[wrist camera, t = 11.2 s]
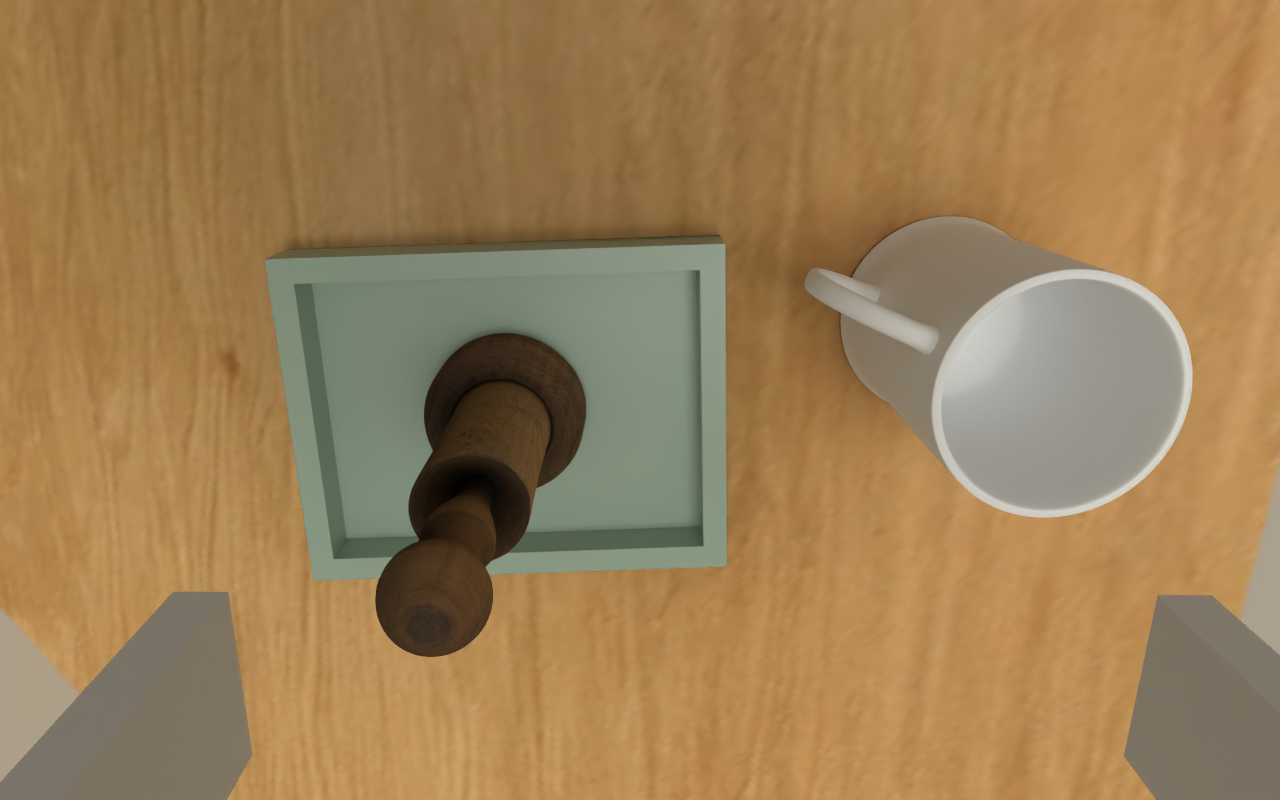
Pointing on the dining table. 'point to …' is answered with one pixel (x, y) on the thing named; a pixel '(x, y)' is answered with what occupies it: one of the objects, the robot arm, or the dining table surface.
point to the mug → (1015, 362)
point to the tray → (531, 306)
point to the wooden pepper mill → (478, 484)
